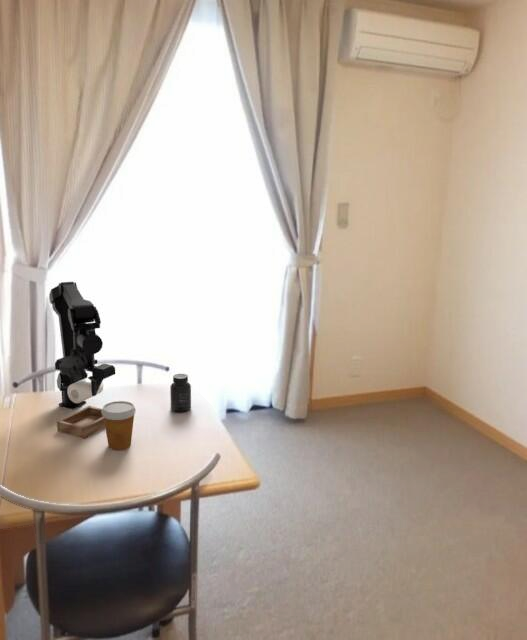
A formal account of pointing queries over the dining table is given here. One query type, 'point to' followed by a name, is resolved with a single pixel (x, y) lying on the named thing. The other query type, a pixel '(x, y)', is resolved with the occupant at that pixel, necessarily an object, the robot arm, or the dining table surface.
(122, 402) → the disposable coffee cup
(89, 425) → the walnut cradle
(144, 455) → the dining table surface
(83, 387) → the paper roll
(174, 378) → the supplement bottle
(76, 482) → the dining table surface
